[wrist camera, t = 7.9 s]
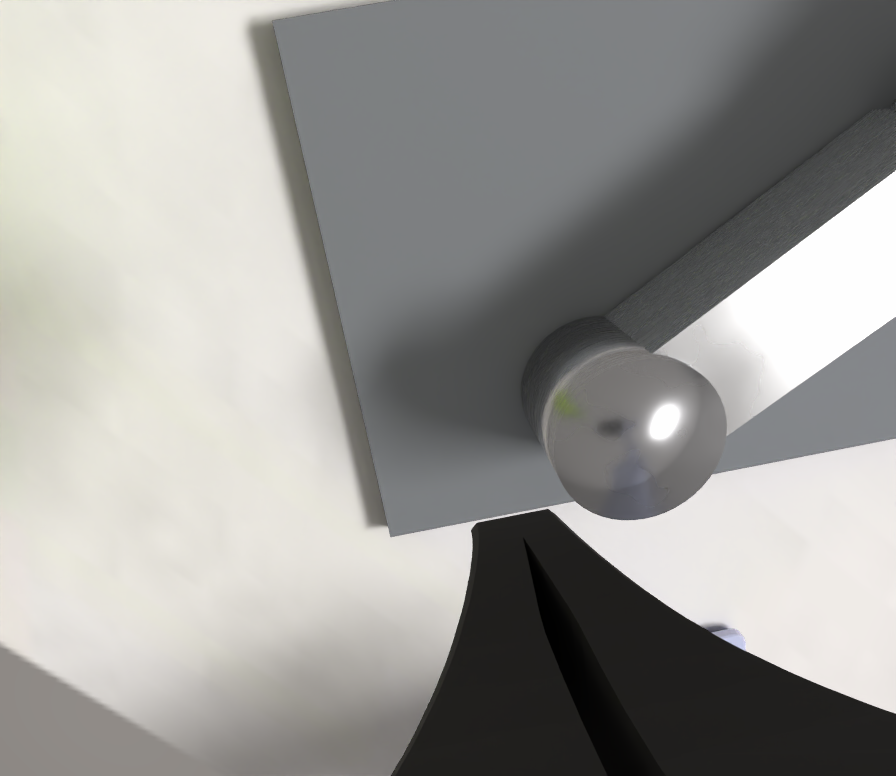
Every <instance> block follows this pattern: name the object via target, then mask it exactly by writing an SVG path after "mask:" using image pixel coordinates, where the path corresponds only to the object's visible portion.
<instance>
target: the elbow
mask: <svg viewBox="0 0 896 776" xmlns="http://www.w3.org/2000/svg"><path fill="white" fill-rule="evenodd" d="M895 316H896V99H895V100H894V101H893V103H892V106H891V108H890V109H876V110H872V111H871V112H869V113H868V114H867V115H865V116H864V117H863V118H862V119H860V120H859V121H858V122H856V123H855V124H854V125H852V126H851V127H850V128H849V129H847V130H846V131H845V132H843V133H842V134H841V135H839V136H838V137H837V138H835V139H834V140H833V141H832V142H830V143H829V144H828V145H826V146H825V147H824V148H822V149H821V150H820V151H819V152H817V153H816V154H815V155H813V156H812V157H811V158H809V159H808V160H807V161H806V162H804V163H803V164H802V165H800V166H799V167H798V168H796V169H795V170H794V171H793V172H791V173H790V174H789V175H787V176H786V177H785V178H783V179H782V180H781V181H780V182H778V183H777V184H776V185H774V186H773V187H772V188H770V189H769V190H768V191H767V192H765V193H764V194H763V195H761V196H760V197H759V198H757V199H756V200H755V201H754V202H752V203H751V204H750V205H748V206H747V207H746V208H744V209H743V210H742V211H741V212H739V213H738V214H737V215H735V216H734V217H733V218H731V219H730V220H729V221H728V222H726V223H725V224H724V225H722V226H721V227H720V228H718V229H717V230H716V231H715V232H713V233H712V234H711V235H709V236H708V237H707V238H705V239H704V240H703V241H702V242H700V243H699V244H698V245H696V246H695V247H694V248H692V249H691V250H690V251H689V252H687V253H686V254H685V255H683V256H682V257H681V258H679V259H678V260H677V261H676V262H674V263H673V264H672V265H670V266H669V267H668V268H666V269H665V270H664V271H663V272H661V273H660V274H659V275H657V276H656V277H655V278H653V279H652V280H651V281H650V282H648V283H647V284H646V285H644V286H643V287H642V288H640V289H639V290H638V291H637V292H635V293H634V294H633V295H631V296H630V297H629V298H627V299H626V300H625V301H624V302H622V303H621V304H620V305H618V306H617V307H616V308H614V309H613V310H612V311H611V312H609V313H608V314H607V315H605V316H594V317H586V318H582V319H578V320H575V321H572V322H570V323H567V324H566V325H564V326H562V327H560V328H558V329H557V330H555V331H554V332H552V333H551V334H550V335H549V336H548V337H546V338H545V339H544V340H543V341H542V342H541V344H540V345H539V346H538V347H537V348H536V350H535V351H534V353H533V354H532V356H531V357H530V359H529V361H528V363H527V366H526V368H525V371H524V374H523V379H522V386H521V399H522V405H523V409H524V412H525V415H526V417H527V419H528V421H529V423H530V425H531V427H532V428H533V430H534V432H535V434H536V436H537V438H538V440H539V442H540V444H541V445H542V447H543V449H544V451H545V453H546V455H547V457H548V459H549V460H550V462H551V464H552V466H553V468H554V470H555V472H556V474H557V476H558V477H559V479H560V481H561V483H562V485H563V487H564V488H565V490H566V491H567V492H568V494H569V495H570V496H571V497H572V498H573V499H574V500H575V501H576V502H577V503H578V504H579V505H581V506H582V507H583V508H585V509H587V510H589V511H590V512H592V513H594V514H597V515H600V516H602V517H606V518H611V519H617V520H637V519H645V518H649V517H653V516H657V515H659V514H662V513H665V512H667V511H669V510H671V509H673V508H675V507H677V506H679V505H680V504H682V503H683V502H685V501H686V500H688V499H689V498H690V497H691V496H693V495H694V494H695V493H696V492H697V491H698V490H699V489H700V488H701V487H702V486H703V485H704V484H705V483H706V481H707V480H708V479H709V478H710V476H711V475H712V473H713V472H714V470H715V469H716V467H717V465H718V463H719V461H720V458H721V456H722V453H723V450H724V446H725V441H726V436H728V435H729V434H730V433H732V432H733V431H735V430H736V429H738V428H739V427H740V426H742V425H743V424H745V423H746V422H747V421H749V420H750V419H752V418H753V417H754V416H756V415H757V414H759V413H760V412H761V411H763V410H764V409H766V408H767V407H768V406H770V405H771V404H773V403H774V402H775V401H777V400H778V399H780V398H781V397H782V396H784V395H785V394H787V393H788V392H789V391H791V390H792V389H794V388H795V387H796V386H798V385H799V384H801V383H802V382H804V381H805V380H806V379H808V378H809V377H811V376H812V375H813V374H815V373H816V372H818V371H819V370H820V369H822V368H823V367H825V366H826V365H827V364H829V363H830V362H832V361H833V360H834V359H836V358H837V357H839V356H840V355H841V354H843V353H844V352H846V351H847V350H848V349H850V348H851V347H853V346H854V345H855V344H857V343H858V342H860V341H861V340H862V339H864V338H865V337H867V336H868V335H869V334H871V333H872V332H874V331H875V330H877V329H878V328H879V327H881V326H882V325H884V324H885V323H886V322H888V321H889V320H891V319H892V318H893V317H895Z"/></svg>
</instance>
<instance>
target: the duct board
mask: <svg viewBox="0 0 896 776" xmlns="http://www.w3.org/2000/svg"><path fill="white" fill-rule="evenodd" d="M272 22H273V26H274V31H275V35H276V39H277V44H278V48H279V52H280V57H281V61H282V66H283V70H284V74H285V79H286V83H287V87H288V92H289V96H290V100H291V105H292V109H293V114H294V118H295V122H296V127H297V131H298V135H299V140H300V144H301V149H302V153H303V157H304V162H305V166H306V170H307V175H308V179H309V183H310V188H311V192H312V197H313V201H314V205H315V210H316V214H317V218H318V223H319V227H320V231H321V236H322V240H323V245H324V249H325V253H326V258H327V262H328V266H329V271H330V275H331V280H332V284H333V288H334V293H335V297H336V301H337V306H338V310H339V314H340V319H341V323H342V328H343V332H344V336H345V341H346V345H347V349H348V354H349V358H350V362H351V367H352V371H353V376H354V380H355V384H356V389H357V393H358V397H359V402H360V406H361V411H362V415H363V419H364V424H365V428H366V432H367V437H368V441H369V445H370V450H371V454H372V459H373V463H374V467H375V472H376V476H377V480H378V485H379V489H380V493H381V498H382V502H383V507H384V511H385V515H386V520H387V524H388V528H389V533H390V537H394V536H399V535H404V534H409V533H414V532H420V531H425V530H430V529H435V528H440V527H445V526H450V525H455V524H460V523H466V522H471V521H476V520H481V519H486V518H491V517H496V516H501V515H507V514H512V513H517V512H522V511H527V510H532V509H537V508H542V507H547V506H553V505H558V504H563V503H568V502H573V501H575V500H574V499H573V498H572V497H571V496H570V495H569V494H568V492H567V491H566V490H565V488H564V487H563V485H562V483H561V481H560V479H559V477H558V476H557V474H556V472H555V470H554V468H553V466H552V464H551V462H550V460H549V459H548V457H547V455H546V453H545V451H544V449H543V447H542V445H541V444H540V442H539V440H538V438H537V436H536V434H535V432H534V430H533V428H532V427H531V425H530V423H529V421H528V419H527V417H526V415H525V412H524V409H523V405H522V399H521V386H522V379H523V374H524V371H525V368H526V366H527V363H528V361H529V359H530V357H531V356H532V354H533V353H534V351H535V350H536V348H537V347H538V346H539V345H540V344H541V342H542V341H543V340H544V339H545V338H546V337H548V336H549V335H550V334H551V333H552V332H554V331H555V330H557V329H558V328H560V327H562V326H564V325H566V324H567V323H570V322H572V321H575V320H578V319H582V318H586V317H594V316H605V315H607V314H608V313H609V312H611V311H612V310H613V309H614V308H616V307H617V306H618V305H620V304H621V303H622V302H624V301H625V300H626V299H627V298H629V297H630V296H631V295H633V294H634V293H635V292H637V291H638V290H639V289H640V288H642V287H643V286H644V285H646V284H647V283H648V282H650V281H651V280H652V279H653V278H655V277H656V276H657V275H659V274H660V273H661V272H663V271H664V270H665V269H666V268H668V267H669V266H670V265H672V264H673V263H674V262H676V261H677V260H678V259H679V258H681V257H682V256H683V255H685V254H686V253H687V252H689V251H690V250H691V249H692V248H694V247H695V246H696V245H698V244H699V243H700V242H702V241H703V240H704V239H705V238H707V237H708V236H709V235H711V234H712V233H713V232H715V231H716V230H717V229H718V228H720V227H721V226H722V225H724V224H725V223H726V222H728V221H729V220H730V219H731V218H733V217H734V216H735V215H737V214H738V213H739V212H741V211H742V210H743V209H744V208H746V207H747V206H748V205H750V204H751V203H752V202H754V201H755V200H756V199H757V198H759V197H760V196H761V195H763V194H764V193H765V192H767V191H768V190H769V189H770V188H772V187H773V186H774V185H776V184H777V183H778V182H780V181H781V180H782V179H783V178H785V177H786V176H787V175H789V174H790V173H791V172H793V171H794V170H795V169H796V168H798V167H799V166H800V165H802V164H803V163H804V162H806V161H807V160H808V159H809V158H811V157H812V156H813V155H815V154H816V153H817V152H819V151H820V150H821V149H822V148H824V147H825V146H826V145H828V144H829V143H830V142H832V141H833V140H834V139H835V138H837V137H838V136H839V135H841V134H842V133H843V132H845V131H846V130H847V129H849V128H850V127H851V126H852V125H854V124H855V123H856V122H858V121H859V120H860V119H862V118H863V117H864V116H865V115H867V114H868V113H869V112H871V111H872V110H876V109H890V108H891V106H892V103H893V101H894V100H895V99H896V0H393V1H387V2H381V3H375V4H369V5H363V6H357V7H351V8H345V9H339V10H333V11H327V12H321V13H315V14H309V15H303V16H297V17H291V18H285V19H279V20H273V21H272ZM895 438H896V316H895V317H893V318H892V319H891V320H889V321H888V322H886V323H885V324H884V325H882V326H881V327H879V328H878V329H877V330H875V331H874V332H872V333H871V334H869V335H868V336H867V337H865V338H864V339H862V340H861V341H860V342H858V343H857V344H855V345H854V346H853V347H851V348H850V349H848V350H847V351H846V352H844V353H843V354H841V355H840V356H839V357H837V358H836V359H834V360H833V361H832V362H830V363H829V364H827V365H826V366H825V367H823V368H822V369H820V370H819V371H818V372H816V373H815V374H813V375H812V376H811V377H809V378H808V379H806V380H805V381H804V382H802V383H801V384H799V385H798V386H796V387H795V388H794V389H792V390H791V391H789V392H788V393H787V394H785V395H784V396H782V397H781V398H780V399H778V400H777V401H775V402H774V403H773V404H771V405H770V406H768V407H767V408H766V409H764V410H763V411H761V412H760V413H759V414H757V415H756V416H754V417H753V418H752V419H750V420H749V421H747V422H746V423H745V424H743V425H742V426H740V427H739V428H738V429H736V430H735V431H733V432H732V433H730V434H729V435H728V436H726V441H725V446H724V450H723V453H722V456H721V458H720V461H719V463H718V465H717V467H716V469H715V470H714V472H713V473H712V474H716V473H721V472H726V471H732V470H737V469H742V468H747V467H752V466H757V465H762V464H767V463H773V462H778V461H783V460H788V459H793V458H798V457H803V456H808V455H813V454H819V453H824V452H829V451H834V450H839V449H844V448H849V447H854V446H860V445H865V444H870V443H875V442H880V441H885V440H890V439H895Z"/></svg>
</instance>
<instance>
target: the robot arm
mask: <svg viewBox="0 0 896 776" xmlns="http://www.w3.org/2000/svg"><path fill="white" fill-rule="evenodd" d="M471 532H472V538H473V551H472V562H471V570H470V576H469V581H468V586H467V591H466V596H465V601H464V605H463V609H462V613H461V616H460V620H459V623H458V626H457V630H456V633H455V637H454V640H453V643H452V646H451V649H450V652H449V655H448V658H447V661H446V663H445V666H444V669H443V671H442V674H441V676H440V679H439V681H438V684H437V686H436V689H435V691H434V693H433V696H432V698H431V700H430V702H429V704H428V707H427V709H426V711H425V713H424V715H423V717H422V719H421V721H420V723H419V726H418V728H417V730H416V732H415V734H414V736H413V738H412V740H411V741H410V743H409V745H408V747H407V749H406V751H405V753H404V755H403V756H402V758H401V760H400V761H399V763H398V765H397V766H396V768H395V770H394V771H393V773H392V775H391V776H896V714H895V713H892V712H889V711H886V710H883V709H880V708H877V707H875V706H872V705H869V704H867V703H864V702H862V701H859V700H856V699H854V698H851V697H849V696H846V695H844V694H841V693H838V692H836V691H833V690H831V689H828V688H826V687H823V686H821V685H818V684H816V683H814V682H811V681H809V680H807V679H804V678H802V677H800V676H797V675H795V674H793V673H791V672H788V671H786V670H784V669H782V668H780V667H778V666H776V665H774V664H771V663H769V662H767V661H765V660H763V659H761V658H759V657H757V656H755V655H753V654H751V653H749V652H746V642H745V638H744V637H743V636H742V634H741V633H740V632H739V631H738V630H736V629H725V630H720V631H716V632H709V631H708V630H706V629H704V628H702V627H701V626H699V625H697V624H696V623H694V622H692V621H690V620H689V619H687V618H685V617H684V616H682V615H681V614H679V613H678V612H676V611H674V610H673V609H671V608H670V607H668V606H667V605H665V604H664V603H663V602H661V601H660V600H658V599H657V598H655V597H654V596H653V595H651V594H650V593H648V592H647V591H645V590H644V589H643V588H641V587H640V586H639V585H637V584H636V583H635V582H633V581H632V580H631V579H629V578H628V577H627V576H625V575H624V574H623V573H622V572H620V571H619V570H618V569H617V568H615V567H614V566H613V565H612V564H610V563H609V562H608V561H607V560H605V559H604V558H603V557H602V556H601V555H599V554H598V553H597V552H596V551H595V550H593V549H592V548H591V547H590V546H589V545H588V544H587V543H585V542H584V541H583V540H582V539H581V538H580V537H579V536H578V535H577V534H575V533H574V532H573V531H572V530H571V529H570V528H569V527H568V526H567V525H566V524H565V523H564V522H563V521H562V520H561V519H560V518H558V517H557V516H556V515H555V514H554V513H553V512H551V511H550V510H548V509H546V510H540V511H535V512H530V513H525V514H520V515H515V516H510V517H505V518H500V519H494V520H489V521H484V522H479V523H476V525H475V526H474V527H473V528H472V530H471Z"/></svg>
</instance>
